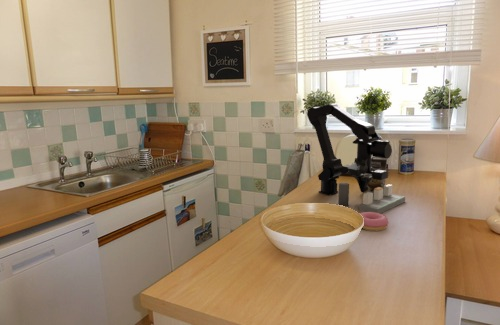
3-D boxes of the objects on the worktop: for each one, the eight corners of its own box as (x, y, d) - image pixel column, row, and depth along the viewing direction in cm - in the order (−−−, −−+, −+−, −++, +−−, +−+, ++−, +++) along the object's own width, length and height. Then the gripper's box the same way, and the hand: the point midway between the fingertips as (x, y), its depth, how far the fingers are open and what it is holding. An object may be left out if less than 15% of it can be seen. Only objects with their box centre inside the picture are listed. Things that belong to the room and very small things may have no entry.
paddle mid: (373, 199, 147) (374, 188, 146) (378, 197, 150) (378, 187, 149) (378, 200, 146) (378, 189, 145) (382, 198, 148) (383, 187, 147)
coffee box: (362, 194, 162) (364, 158, 159) (363, 190, 168) (365, 155, 165) (384, 196, 159) (386, 159, 155) (385, 192, 164) (387, 157, 161)
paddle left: (362, 203, 142) (363, 193, 141) (367, 201, 144) (368, 191, 143) (367, 204, 140) (368, 194, 140) (372, 202, 143) (373, 192, 142)
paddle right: (383, 195, 152) (384, 185, 152) (387, 193, 155) (388, 184, 154) (388, 196, 151) (388, 186, 150) (392, 194, 153) (392, 185, 153)
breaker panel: (358, 209, 142) (358, 204, 142) (386, 197, 157) (386, 192, 156) (377, 214, 137) (378, 209, 136) (404, 201, 151) (405, 196, 151)
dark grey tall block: (336, 205, 148) (336, 183, 146) (341, 203, 150) (342, 182, 148) (344, 207, 145) (345, 185, 143) (350, 205, 147) (351, 183, 145)
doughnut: (388, 234, 119) (389, 222, 118) (353, 230, 122) (354, 219, 121) (387, 222, 129) (388, 211, 128) (355, 219, 132) (355, 208, 132)
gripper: (333, 155, 151) (332, 191, 154) (375, 161, 137) (373, 201, 140) (348, 151, 158) (347, 186, 161) (389, 157, 145) (387, 195, 148)
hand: (362, 192), depth 153 cm, fingers closed
